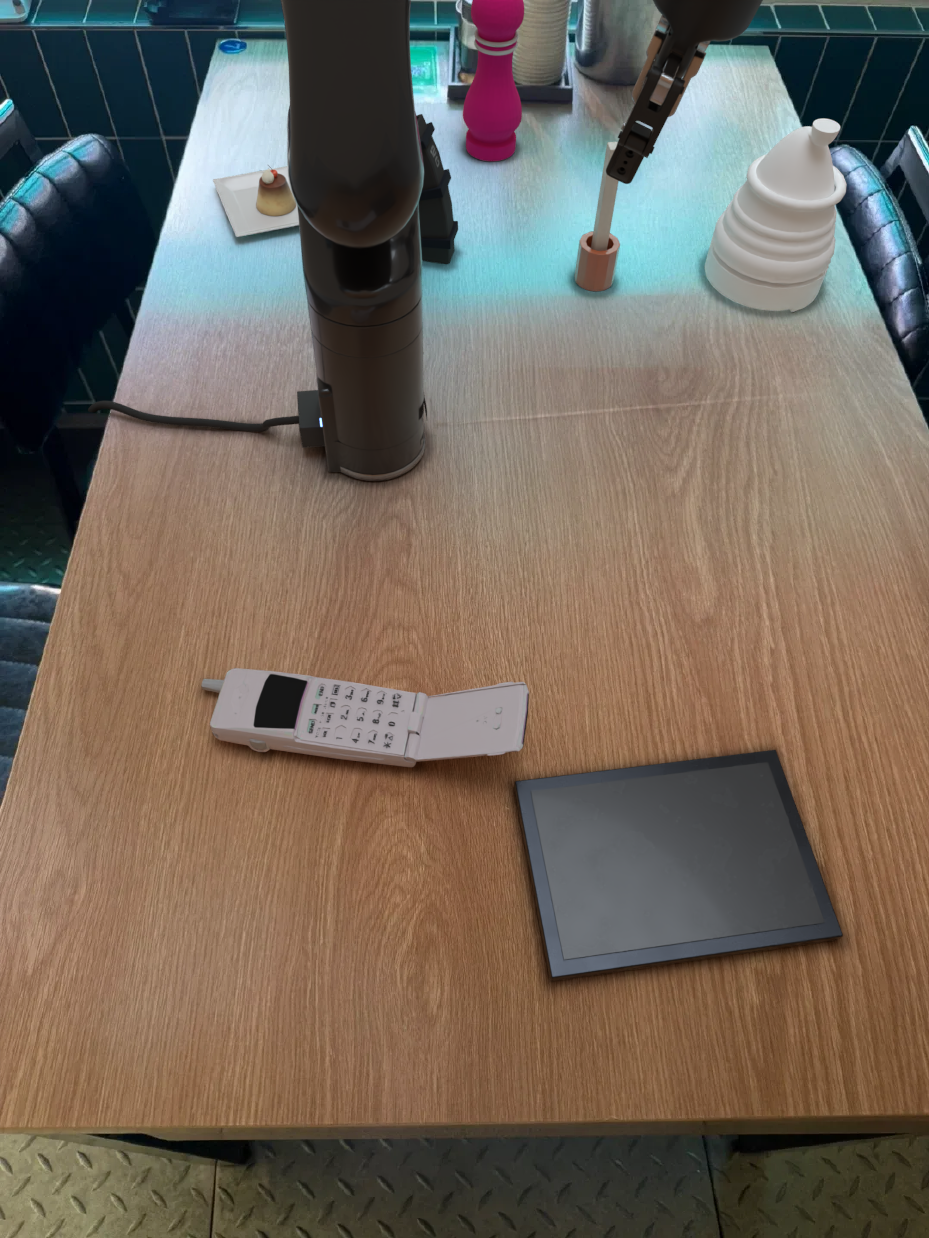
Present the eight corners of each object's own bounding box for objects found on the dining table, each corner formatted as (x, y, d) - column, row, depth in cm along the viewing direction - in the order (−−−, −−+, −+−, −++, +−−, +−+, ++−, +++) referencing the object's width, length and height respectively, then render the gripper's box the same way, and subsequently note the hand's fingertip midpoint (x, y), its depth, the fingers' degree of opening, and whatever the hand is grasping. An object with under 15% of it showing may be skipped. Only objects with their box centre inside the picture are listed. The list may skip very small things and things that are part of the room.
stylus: (589, 283, 103) (610, 149, 91) (586, 275, 104) (606, 142, 92) (601, 282, 103) (624, 149, 91) (598, 274, 104) (621, 141, 92)
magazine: (477, 261, 103) (417, 129, 92) (374, 288, 109) (307, 167, 98) (484, 241, 105) (427, 110, 95) (383, 268, 111) (318, 148, 101)
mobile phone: (523, 753, 65) (168, 705, 66) (516, 790, 70) (185, 744, 71) (531, 679, 68) (194, 634, 70) (524, 719, 73) (209, 677, 74)
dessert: (311, 170, 115) (307, 131, 111) (340, 225, 109) (337, 186, 105) (214, 188, 112) (206, 149, 108) (238, 245, 106) (230, 206, 102)
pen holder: (578, 296, 103) (584, 255, 99) (570, 272, 105) (576, 232, 101) (616, 293, 103) (623, 253, 99) (607, 270, 106) (614, 229, 101)
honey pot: (842, 299, 104) (911, 138, 89) (741, 325, 101) (795, 162, 86) (779, 233, 110) (833, 73, 96) (682, 255, 107) (723, 93, 93)
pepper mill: (454, 137, 120) (458, -42, 104) (508, 130, 122) (520, -49, 105) (471, 168, 116) (478, -14, 100) (527, 159, 118) (542, -21, 101)
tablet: (550, 981, 62) (551, 977, 61) (513, 786, 70) (514, 780, 69) (838, 940, 64) (844, 935, 63) (772, 754, 72) (776, 748, 71)
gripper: (703, -147, 63) (613, 68, 78) (650, -29, 57) (563, 180, 72) (803, -96, 64) (694, 108, 78) (761, 26, 58) (652, 222, 72)
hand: (632, 142), depth 75 cm, fingers open, 8 cm apart
